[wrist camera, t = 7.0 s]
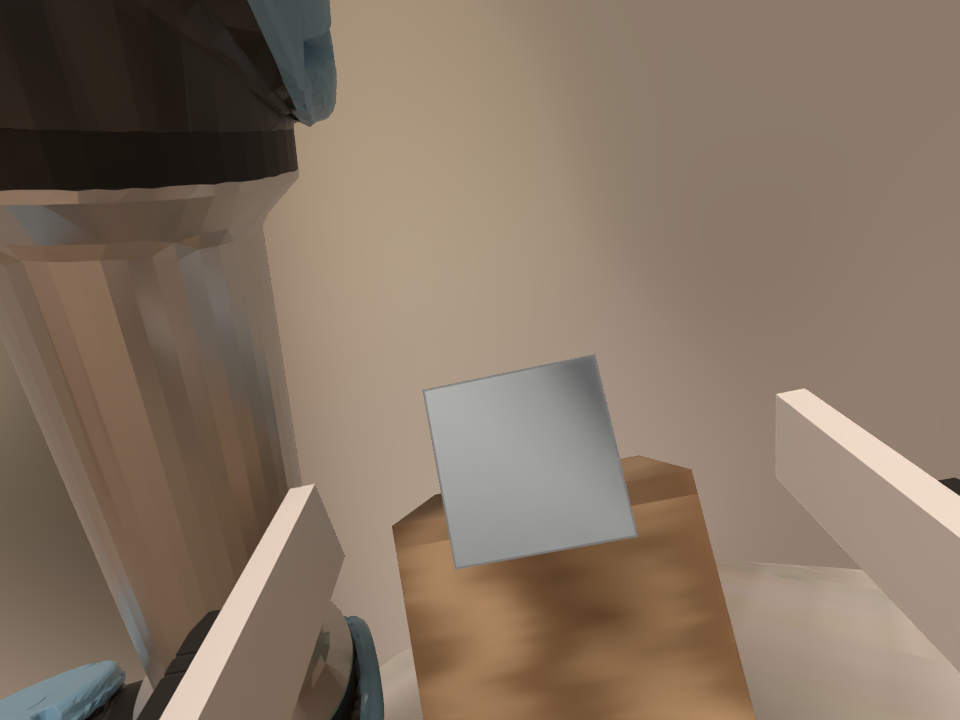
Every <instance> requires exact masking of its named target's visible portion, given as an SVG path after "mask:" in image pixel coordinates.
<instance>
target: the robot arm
mask: <svg viewBox="0 0 960 720" xmlns="http://www.w3.org/2000/svg"><path fill="white" fill-rule="evenodd" d="M330 26H331V15H330V0H0V335H1V337H2V340H3V342H4V344H5V347H6V349H7V351H8V354H9V356H10V358H11V361H12V363H13V365H14V367H15V370H16V372H17V374H18V377H19V379H20V382H21V384H22V386H23V389H24V391H25V393H26V395H27V398H28V400H29V402H30V405H31V407H32V409H33V412H34V414H35V416H36V419H37V421H38V423H39V426H40V428H41V430H42V432H43V435H44V437H45V439H46V442H47V444H48V447H49V449H50V451H51V454H52V455H53V458H54V461H55V463H56V465H57V467H58V470H59V472H60V474H61V477H62V479H63V481H64V484H65V486H66V488H67V490H68V493H69V495H70V498H71V500H72V502H73V505H74V507H75V509H76V511H77V514H78V516H79V519H80V521H81V523H82V526H83V528H84V530H85V532H86V535H87V537H88V539H89V542H90V544H91V546H92V549H93V551H94V553H95V556H96V558H97V560H98V563H99V565H100V567H101V570H102V572H103V574H104V576H105V579H106V581H107V584H108V586H109V588H110V591H111V593H112V595H113V598H114V600H115V602H116V604H117V607H118V609H119V611H120V613H121V616H122V618H123V621H124V623H125V625H126V628H127V630H128V632H129V635H130V637H131V639H132V642H133V644H134V646H135V649H136V651H137V653H138V656H139V658H140V660H141V662H142V665H143V667H144V669H145V672H146V676H145V678H144V680H141V681H138V682H135V683H131V684H128V685H126V684H124V681H125V671H122V669H121V667H120V665H119V663H117V662H115V661H110V660H108V661H103V662H101V663H92V664H88V665H85V666H81V667H78V668H75V669H72V670H69V671H67V672H64V673H62V674H59V675H56V676H54V677H51V678H49V679H46V680H44V681H42V682H39V683H37V684H34V685H32V686H30V687H27V688H25V689H23V690H21V691H19V692H16V693H14V694H12V695H10V696H8V697H5V698H3V699H1V700H0V720H384V701H383V692H382V684H381V677H380V670H379V665H378V659H377V655H376V650H375V647H374V642H373V638H372V635H371V632H370V630H369V627H368V625H367V624H366V622H365V621H364V620H363V619H361V618H359V617H357V616H350V617H346V616H343V615H342V613H341V611H340V610H339V609H338V608H337V606H336V605H335V604H334V603H333V602H332V601H330V600H331V597H332V594H333V591H334V588H335V585H336V581H337V578H338V576H339V572H340V569H341V566H342V563H343V560H344V557H345V555H344V552H343V550H342V548H341V545H340V543H339V541H338V538H337V536H336V533H335V531H334V529H333V526H332V524H331V522H330V519H329V517H328V514H327V512H326V510H325V507H324V505H323V502H322V500H321V498H320V495H319V493H318V491H317V488H316V486H315V484H312V485H307V486H302V482H301V476H300V469H299V463H298V456H297V450H296V443H295V437H294V430H293V423H292V417H291V411H290V405H289V398H288V391H287V384H286V377H285V371H284V364H283V358H282V351H281V344H280V338H279V331H278V325H277V318H276V311H275V306H274V298H273V292H272V285H271V278H270V272H269V265H268V258H267V252H266V246H265V239H264V232H263V223H264V221H265V219H266V216H267V214H268V212H269V211H270V210H271V209H272V208H273V207H274V205H275V204H276V203H277V202H278V201H279V200H280V199H281V197H282V196H283V195H284V194H285V193H286V192H287V190H288V189H289V188H290V187H291V186H292V185H293V183H294V182H295V181H296V180H297V179H298V175H299V174H298V173H299V172H298V165H297V154H296V146H295V137H294V123H296V122H300V123H303V124H305V125H307V126H309V127H310V126H312V125H313V124H314V123H316V122H317V121H321V120H325V119H327V118H328V117H329V116H330V115H331V113H332V112H333V110H334V106H335V103H336V83H337V80H336V68H335V61H334V54H333V45H332V40H331V35H330V30H329V28H330ZM775 477H776V478H777V479H778V481H779V482H780V483H781V484H782V485H783V486H784V487H785V488H786V489H787V490H788V491H789V492H790V493H791V494H792V495H793V496H794V497H795V499H796V500H797V501H798V502H799V503H800V504H801V505H802V506H803V507H804V508H805V509H806V510H807V511H808V512H809V513H810V514H811V515H812V517H813V518H814V519H815V520H816V521H817V522H818V523H819V524H820V525H821V526H822V527H823V528H824V529H825V530H826V531H827V532H828V533H829V534H830V535H831V537H832V538H833V539H834V540H835V541H836V542H837V543H838V544H839V545H840V546H841V547H842V548H843V549H844V550H845V551H846V552H847V553H848V555H849V556H850V557H851V558H852V559H853V560H854V561H855V562H856V563H857V564H858V565H859V566H860V567H861V568H862V570H863V571H864V572H865V573H866V574H867V575H868V576H869V577H870V578H871V579H872V580H873V581H874V582H875V583H876V584H877V585H878V586H879V588H880V589H881V590H882V591H883V592H884V593H885V594H886V595H887V596H888V597H889V598H890V599H891V600H892V601H893V602H894V603H895V604H896V606H897V607H898V608H899V609H900V610H901V611H902V612H903V613H904V614H905V615H906V616H907V617H908V618H909V619H910V620H911V621H912V622H913V624H914V625H915V626H916V627H917V628H918V629H919V630H920V631H921V632H922V633H923V634H924V635H925V636H926V637H927V638H928V639H929V640H930V642H931V643H932V644H933V645H934V646H935V647H936V648H937V649H938V650H939V651H940V652H941V653H942V654H943V655H944V656H945V657H946V658H947V660H948V661H949V662H950V663H951V664H952V665H953V666H954V667H955V668H956V669H957V670H958V671H959V672H960V480H959V479H957V478H950V479H945V480H939V481H937V480H936V479H934V478H933V477H931V476H930V475H929V474H927V473H926V472H924V471H923V470H921V469H920V468H918V467H917V466H916V465H914V464H912V463H911V462H910V461H908V460H907V459H905V458H904V457H903V456H901V455H900V454H898V453H897V452H895V451H894V450H893V449H891V448H890V447H888V446H887V445H885V444H884V443H882V442H881V441H880V440H878V439H877V438H875V437H874V436H872V435H871V434H870V433H868V432H867V431H865V430H864V429H862V428H861V427H859V426H858V425H857V424H855V423H854V422H852V421H851V420H849V419H848V418H846V417H845V416H844V415H842V414H841V413H839V412H838V411H836V410H835V409H834V408H832V407H831V406H829V405H828V404H826V403H825V402H823V401H822V400H821V399H819V398H818V397H816V396H815V395H813V394H812V393H811V392H809V391H808V390H806V389H800V390H795V391H790V392H785V393H780V394H776V476H775Z"/></svg>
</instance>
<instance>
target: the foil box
mask: <svg viewBox="0 0 960 720" xmlns="http://www.w3.org/2000/svg"><path fill="white" fill-rule="evenodd" d="M423 395H424V400H425V406H426V411H427V417H428V423H429V428H430V434H431V439H432V445H433V451H434V456H435V462H436V467H437V473H438V478H439V484H440V489H441V495H442V501H443V506H444V512H445V517H446V523H447V528H448V534H449V540H450V545H451V551H452V556H453V562H454V567H455V570H456V569H461V568H467V567H472V566H478V565H484V564H489V563H495V562H500V561H506V560H511V559H517V558H522V557H528V556H533V555H539V554H545V553H550V552H556V551H561V550H567V549H572V548H578V547H583V546H589V545H594V544H600V543H605V542H611V541H617V540H622V539H628V538H633V537H638V533H637V529H636V525H635V521H634V516H633V512H632V508H631V504H630V499H629V495H628V491H627V487H626V482H625V478H624V474H623V470H622V466H621V461H620V457H619V454H618V449H617V444H616V440H615V436H614V432H613V427H612V423H611V419H610V415H609V411H608V406H607V402H606V398H605V394H604V390H603V385H602V381H601V377H600V373H599V368H598V364H597V360H596V356H595V354H593V355H588V356H584V357H579V358H574V359H569V360H565V361H560V362H555V363H550V364H545V365H540V366H536V367H531V368H526V369H522V370H516V371H512V372H507V373H502V374H497V375H493V376H488V377H483V378H478V379H473V380H468V381H463V382H459V383H454V384H449V385H445V386H439V387H435V388H430V389H425V390H423Z"/></svg>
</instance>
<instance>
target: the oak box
mask: <svg viewBox="0 0 960 720" xmlns="http://www.w3.org/2000/svg"><path fill="white" fill-rule="evenodd" d="M620 461H621V466H622V470H623V474H624V478H625V482H626V487H627V491H628V495H629V499H630V504H631V508H632V512H633V516H634V521H635V525H636V529H637V533H638V537H633V538H628V539H622V540H617V541H611V542H605V543H600V544H594V545H589V546H583V547H578V548H572V549H567V550H561V551H556V552H550V553H545V554H539V555H533V556H528V557H522V558H517V559H511V560H506V561H500V562H495V563H489V564H484V565H478V566H472V567H467V568H461V569H456V570H455V567H454V562H453V556H452V551H451V545H450V540H449V534H448V528H447V523H446V517H445V512H444V506H443V501H442V495H441V494H436V495H434V496H433V497H431V498H430V499H429V500H427V501H426V502H425V503H423V504H422V505H420V506H419V507H418V508H417V509H415V510H414V511H412V512H411V513H409V514H408V515H407V516H405V517H404V518H403V519H401V520H400V521H399V522H397V523H396V524H394V525H393V526H392V529H393V535H394V541H395V547H396V553H397V559H398V566H399V572H400V578H401V584H402V590H403V596H404V602H405V608H406V614H407V621H408V626H409V633H410V639H411V645H412V651H413V657H414V663H415V670H416V676H417V682H418V688H419V694H420V700H421V706H422V712H423V719H424V720H756V719H755V715H754V711H753V707H752V703H751V699H750V696H749V692H748V688H747V684H746V680H745V676H744V672H743V668H742V664H741V660H740V657H739V653H738V649H737V645H736V641H735V637H734V633H733V629H732V625H731V622H730V618H729V614H728V610H727V606H726V602H725V598H724V594H723V590H722V587H721V583H720V579H719V575H718V571H717V567H716V563H715V559H714V556H713V551H712V548H711V544H710V540H709V536H708V532H707V528H706V525H705V520H704V516H703V513H702V509H701V505H700V501H699V497H698V493H697V489H696V485H695V481H694V478H693V474H692V470H691V469H687V468H684V467H680V466H676V465H672V464H669V463H665V462H661V461H657V460H654V459H650V458H646V457H643V456H634V457H629V458H624V459H620Z"/></svg>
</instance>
